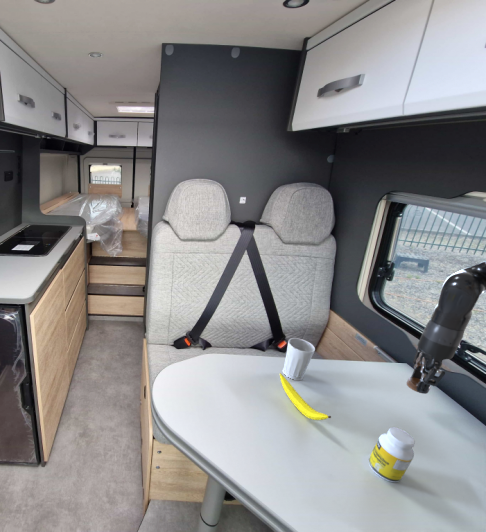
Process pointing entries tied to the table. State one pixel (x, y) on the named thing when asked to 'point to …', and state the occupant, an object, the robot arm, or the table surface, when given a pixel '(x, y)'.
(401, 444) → the pill bottle
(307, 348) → the cup
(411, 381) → the brown bottle cap
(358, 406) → the table surface
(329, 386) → the table surface
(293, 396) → the banana
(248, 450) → the table surface
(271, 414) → the table surface
